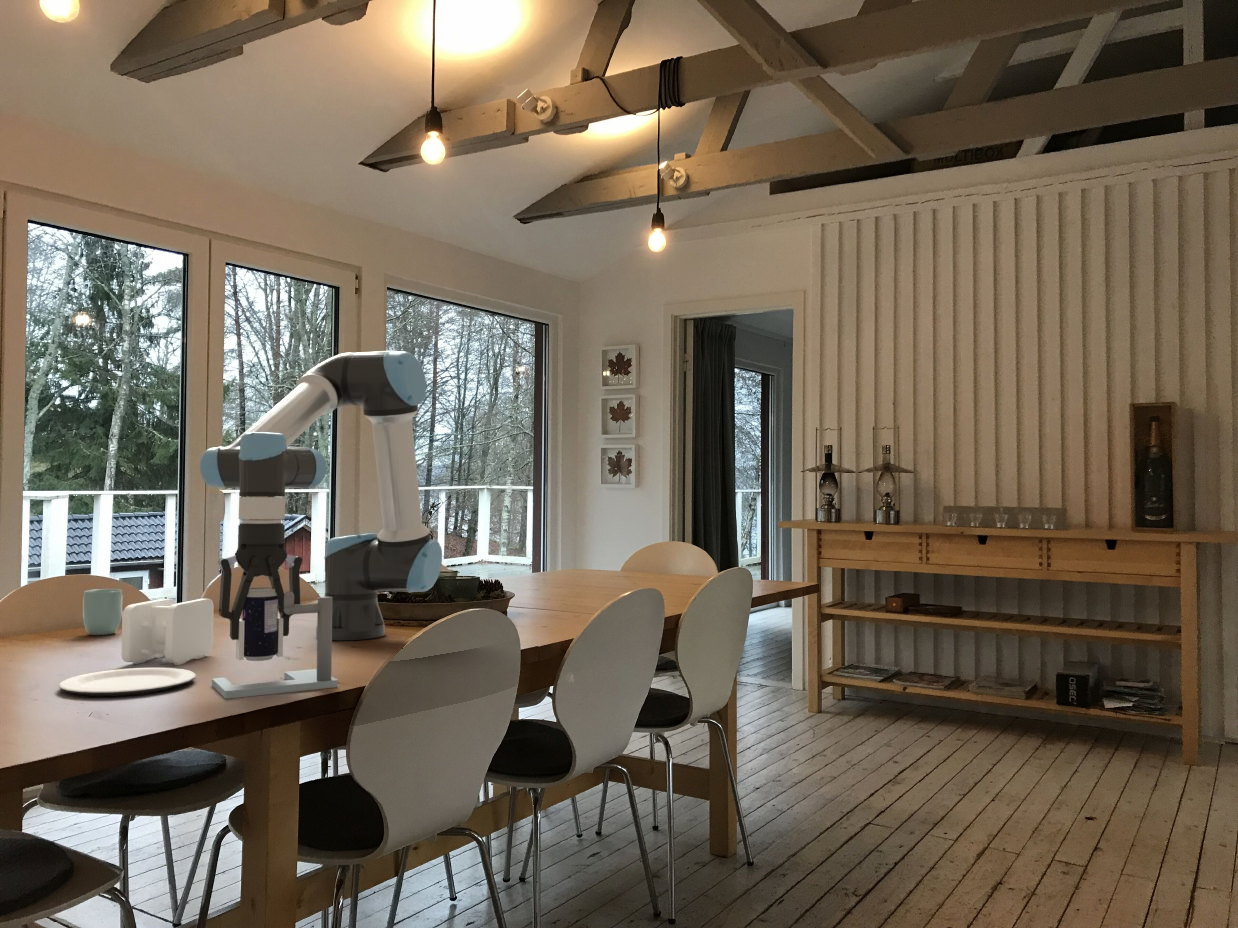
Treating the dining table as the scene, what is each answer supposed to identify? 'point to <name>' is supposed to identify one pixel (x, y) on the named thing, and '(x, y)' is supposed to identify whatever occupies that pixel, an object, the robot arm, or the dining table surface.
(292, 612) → the l-shaped desk stand
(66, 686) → the plate
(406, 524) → the robot arm
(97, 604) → the cup
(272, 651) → the beverage can
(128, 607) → the cable organizer
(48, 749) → the dining table surface
